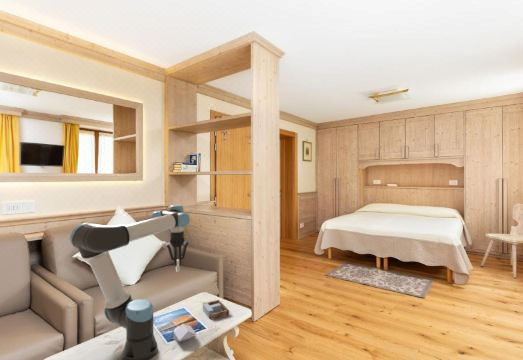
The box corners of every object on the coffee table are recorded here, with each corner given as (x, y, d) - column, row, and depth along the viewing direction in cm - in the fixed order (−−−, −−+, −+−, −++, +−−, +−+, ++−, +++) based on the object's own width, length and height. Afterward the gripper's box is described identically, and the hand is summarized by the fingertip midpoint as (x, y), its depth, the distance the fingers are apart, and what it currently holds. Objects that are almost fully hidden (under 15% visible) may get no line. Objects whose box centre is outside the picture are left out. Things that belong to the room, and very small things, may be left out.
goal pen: (212, 319, 164) (212, 314, 163) (202, 308, 178) (202, 303, 178) (228, 315, 169) (228, 310, 169) (218, 304, 183) (218, 299, 183)
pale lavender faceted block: (197, 341, 143) (188, 329, 154) (197, 328, 143) (188, 317, 154) (179, 347, 138) (171, 334, 149) (179, 333, 138) (171, 322, 149)
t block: (208, 318, 166) (208, 311, 166) (203, 310, 174) (203, 304, 174) (223, 314, 170) (223, 307, 170) (216, 307, 179) (216, 300, 179)
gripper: (167, 233, 162) (167, 274, 162) (189, 231, 168) (190, 270, 169) (164, 231, 168) (165, 270, 169) (186, 229, 175) (186, 267, 175)
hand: (177, 270), depth 169 cm, fingers closed
